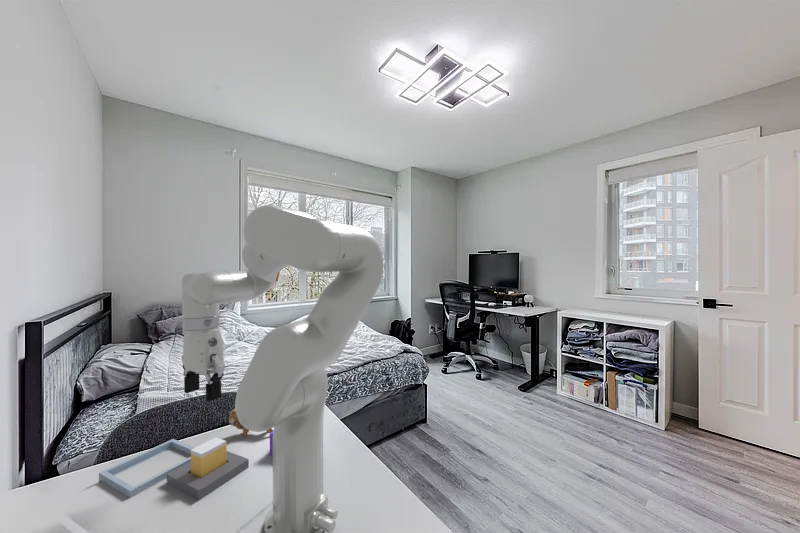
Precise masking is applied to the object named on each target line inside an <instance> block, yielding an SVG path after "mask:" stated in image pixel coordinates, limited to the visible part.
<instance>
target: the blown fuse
mask: <svg viewBox="0 0 800 533" xmlns="http://www.w3.org/2000/svg"><path fill="white" fill-rule="evenodd" d="M226 451H227V440H225V439H222V438H219V437H213V438H212V439H210V440H208V441H205V442H203V443H201V444H200V445H198V446H196V447H195V448H194V449H192V450H191V455H190V457H191V474H192V475H194V476H197V477H199V478H203V477H204V476H206V475H208V474H209V473H211V472H212V471H214V470H216V469H217V468H219V467H221V466H222V465H224V464H226Z"/></svg>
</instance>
